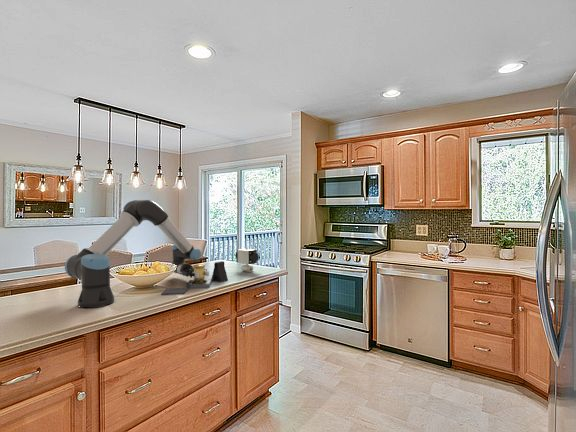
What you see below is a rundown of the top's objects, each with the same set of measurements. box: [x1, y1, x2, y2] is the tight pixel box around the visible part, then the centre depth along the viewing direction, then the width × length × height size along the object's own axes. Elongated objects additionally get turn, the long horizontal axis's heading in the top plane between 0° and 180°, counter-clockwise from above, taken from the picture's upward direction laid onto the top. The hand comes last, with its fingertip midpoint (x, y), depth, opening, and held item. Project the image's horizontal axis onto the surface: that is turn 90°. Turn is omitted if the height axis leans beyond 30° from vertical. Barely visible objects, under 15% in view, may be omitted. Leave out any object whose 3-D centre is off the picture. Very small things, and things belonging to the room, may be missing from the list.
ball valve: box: [234, 247, 259, 273], centre depth 231 cm, size 18×8×18 cm, turn 49°
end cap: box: [192, 263, 206, 284], centre depth 189 cm, size 7×7×12 cm
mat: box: [160, 286, 190, 296], centre depth 175 cm, size 12×12×1 cm
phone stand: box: [211, 260, 229, 283], centre depth 202 cm, size 9×6×12 cm, turn 56°
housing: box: [185, 278, 213, 289], centre depth 189 cm, size 14×13×2 cm
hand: (203, 274), depth 186 cm, fingers closed on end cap, 6 cm apart
